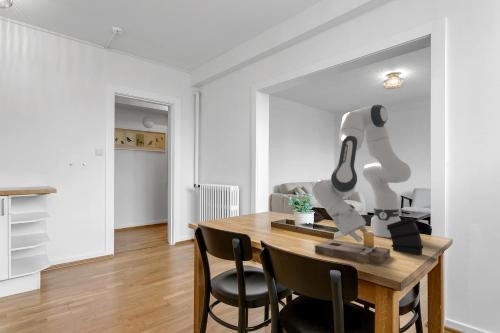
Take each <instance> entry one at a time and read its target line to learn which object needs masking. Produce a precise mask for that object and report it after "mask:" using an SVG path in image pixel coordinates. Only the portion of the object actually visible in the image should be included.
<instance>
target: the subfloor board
mask: <svg viewBox="0 0 500 333" xmlns="http://www.w3.org/2000/svg"><path fill="white" fill-rule="evenodd" d="M314 253H316V254H321V255H327V256H331V257H334V258H335V257H336V258H340V259H346V260H351V261H356V262H360V263H366V264H371V265H374V264H375V266H379V265H380V266H381V265H383V263H384V262H385V261H387V260H388V259H389V258H390V257H391V248H387V247H386V248H385V247H381V246H376V245H374V247H373V248H372V252H370V251H366V247H364V244H363V243H362V244H361V243H356V242H350V241H343V240H337V239H331V238H329V239H327V240H324V241H322V242H320V243H318V244H315V245H314Z"/></svg>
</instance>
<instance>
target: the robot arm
mask: <svg viewBox="0 0 500 333" xmlns="http://www.w3.org/2000/svg"><path fill="white" fill-rule="evenodd" d="M387 120H388V112H387V109H386V107H385V106H383V105H382V104H374V105H371V106H365V107H361V108H359V109H355V110H353V111H349V112H346V113H345V114H344V115H343V116H342V118H341V124H340V128H339V134H338V146H339V148H340V154H339V159H338V163H337V166H336V167H335V169H334V170H333V172H332V173H331V176H330V178H328V179H320V180H318V181H317V182H316V183H315V184H314V185H313V187H312V196H313V197H314V199H315V200H316V201H317V202H318V203H319V205H320V206H321V207H323V208H324V209H325V210H326V213H327V215H329V216H330V217H331V218H332V222H333V224H334V225H335V227H336V228H337V229H338V231H339V232H340V234H341V235H344V236H345V237H346V236H348V235H349V236H350V237H351V238H353V239H354V240H355V241H356V242H358V243H360V242H361V241H362V240H363V238H362V236H360V235H359V234H358V233H357V232H356V231H358V230H359V231H360V232H362V233H363V232H373V233H374V237H379V238H380V237H381V238H387V239H389V238H390V237H391V234H390V232H389V230H387V228H388V227H387V225H389V224H392V223H395V222H398V221H401V220H402V219H401V218H400V211H399V210H400V209H399V208H398V205H399V204H398V198H399V197H398V194H397V193H396V191H394V190H393V189H391V187H390V186H389V183H390V184H391V183H392V184H399V183H404V182H408V180H409V179H410V178H411V176H412V169H411V167H410V166H409V164H408V163H407V162H404V161H402V159H400V158H399V156H398V155H397V154H396V153H395V151H394V150H393V147H392V145H391V141H390V138H389V134H388V131H387V128H386V123H387ZM364 139H365V140H364ZM364 141H365V144H366V147H367V152H368V154H369V156H370V157H372V158H374V159H375V160H377V162H375V161H374V162H371V163H367V164H365V165H364V167H363V169H362V176H363V178H364V179H365V180H366V181H367V182H368V184H369V185H370V187H371V188H372V192H373V196H374V197H373V198H374V207H373V216H372V217H371V219H370V220H371V221H370V229H369V230H368V229H367V228H366V226H365V225H366V224H367V221H366V219H365V218H364V217H363V216H362V215H361V214H360V213H359V212H358V211H357V209H356V207H355V206H354V205H353V204H350V203H348V202H346V201H345V199H346V198H349V197H351V196H352V195H353V194H354V192H355V190H356V185H357V182H358V175H357V172H356V170H355V162H356V155H357V151H359V150H360V149H361V148H362V145H363V142H364Z"/></svg>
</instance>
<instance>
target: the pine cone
mask: <svg viewBox="0 0 500 333" xmlns="http://www.w3.org/2000/svg"><path fill="white" fill-rule="evenodd" d="M313 211H314V212H315V213H314V223H313V224H317V223H320V222H322V221H325V217H324V216H323V215H322V214H321V213H319V212H318V211H316V210H314V209H313Z"/></svg>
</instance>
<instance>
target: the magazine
mask: <svg viewBox="0 0 500 333" xmlns="http://www.w3.org/2000/svg"><path fill="white" fill-rule="evenodd" d="M416 221H417V220H416V219H415V218H413V216H410V217H408V218H404V219H401V221H398V222H395V223H392V224H389V225H387V227H388V228H387V230H389V232H390V234H391V237H390V240H391V241H392V244H391V246H390V247H391V248H392V250H393V251H395V252H400V253H406V254H410V255H416V256H421V255H423V249H424V245H423V243H422V238H421V230H419V228H418V226H417V223H416Z"/></svg>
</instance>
